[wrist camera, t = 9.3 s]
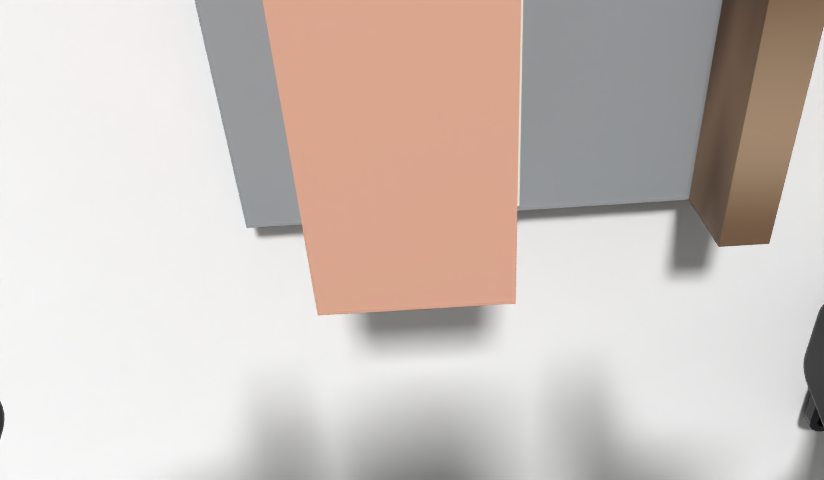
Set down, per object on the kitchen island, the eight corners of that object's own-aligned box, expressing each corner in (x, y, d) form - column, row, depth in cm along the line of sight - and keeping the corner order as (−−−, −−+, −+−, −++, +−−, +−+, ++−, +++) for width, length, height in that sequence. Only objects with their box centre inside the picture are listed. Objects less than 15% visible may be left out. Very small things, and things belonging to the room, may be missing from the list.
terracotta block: (488, -173, 14) (524, -139, 10) (489, 181, 19) (515, 303, 15) (286, -158, 15) (241, -119, 10) (335, 190, 19) (317, 315, 15)
